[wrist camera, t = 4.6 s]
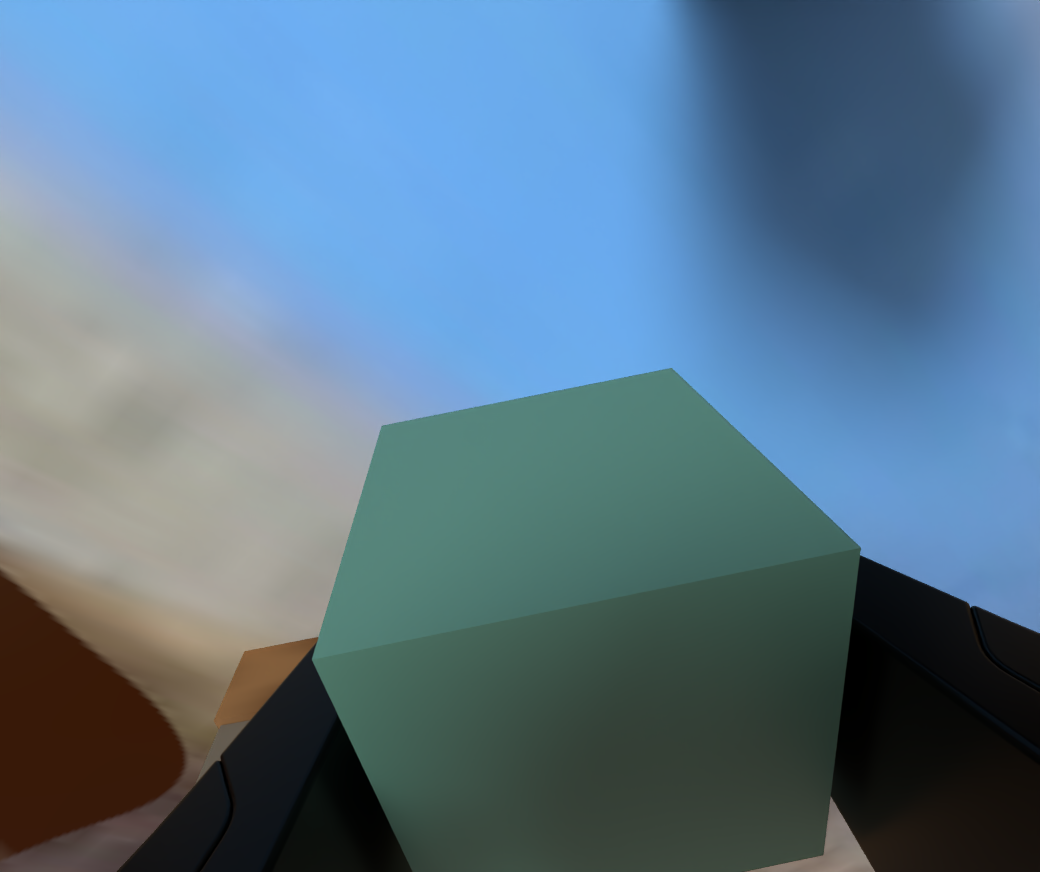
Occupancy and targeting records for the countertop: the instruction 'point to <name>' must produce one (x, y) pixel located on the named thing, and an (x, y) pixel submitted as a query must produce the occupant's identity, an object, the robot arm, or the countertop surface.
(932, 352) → the countertop surface
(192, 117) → the countertop surface
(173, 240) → the countertop surface
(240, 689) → the walnut base block
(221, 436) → the countertop surface
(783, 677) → the teal block
